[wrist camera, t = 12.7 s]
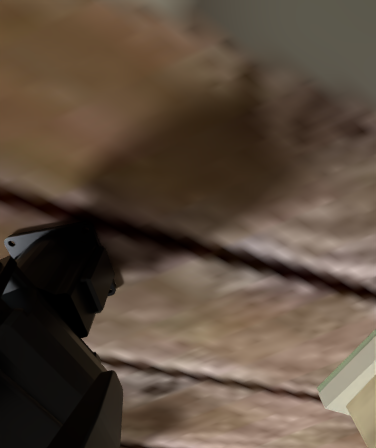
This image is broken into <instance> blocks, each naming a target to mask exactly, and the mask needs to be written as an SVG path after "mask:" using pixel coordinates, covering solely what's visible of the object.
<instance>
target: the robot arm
mask: <svg viewBox="0 0 376 448" xmlns="http://www.w3.org/2000/svg"><path fill="white" fill-rule="evenodd" d="M84 227H87V228H89V231H86V230H85V229H84ZM11 241H14V242H15V244H13V243H12V242H11ZM4 243H5V246H6V248H7V250H8V251H9V253H10V256H7V257H5V258H3V259H1V260H0V448H120V439H121V422H122V405H123V389H122V385H121V383H120V381H119V379H118V376H117V374H116V372H115V371H113V370H111V371H107V370H106V369H105V367H104V366H103V365H102V364H101V359H100V357H99V356H98V355H97V354H96V352H92V350H91V349H90V348H89V347H88V346H87V345H86V344H85V343H84V341H83V340H82V339H81V338H84V337H87V336H88V334H89V331H90V328H91V325H92V323H93V320H94V317H95V314H96V313H101V311H102V310H103V308H104V305H105V302H106V299H107V296H111V295H113V294H115V291H116V285H115V282H114V279H113V278H114V275H115V274H114V271H113V268H112V265H111V263H110V260H109V257H108V254H107V252H106V249H105V248H104V247H103V246H101V244H100V241H99V239H98V236H97V233H96V231H95V228H94V226H93V224H92V223H91V222H88V221H84V222H78V223H73V224H68V225H62V226H57V227H52V228H46V229H41V230H36V231H30V232H25V233H19V234H14V235H10V236H8V237H7V238H6V239H5V241H4ZM110 288H111V289H112V290H110Z"/></svg>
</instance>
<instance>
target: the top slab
mask: <svg viewBox="0 0 376 448" xmlns="http://www.w3.org/2000/svg"><path fill="white" fill-rule="evenodd" d="M375 375H376V336H375V337H374V338H373V339H372V340H371V341H370V342H369V343H368V344H367V345H366V346H365V347H364V348H363V349H362V350H361V351H360V352H359V353H358V354H357V355H356V356H355V357H354V358H353V359H352V360H351V361H350V362H349V363H348V364H347V365H346V366H345V367H344V368H343V369H342V370H341V371H340V372H339V373H338V374H337V375H336V376H335V377H334V378H333V379H332V380H331V381H330V382H329V383H328V384H327V385H326V386H325V387H324V389H323V390H322V391H321V392H320V393H319V396H320V398H321V401H322V403H323V405H324V407H325V409H329V410H332V411H336V412H340V413H343V414H347V415H350V413H349V411H348V409H347V408H346V406H347V405H348V404H349V403H350V402H351V400H352V399H353V398H354V397H355V396H356V395H357V394H358V393H359V392H360V391H361V390H362V389H363V388H364V387H365V385H366V384H367V383H368V382H369V381H370V380H371V379H372V378H373V377H374V376H375Z"/></svg>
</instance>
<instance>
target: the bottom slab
mask: <svg viewBox="0 0 376 448" xmlns="http://www.w3.org/2000/svg"><path fill="white" fill-rule="evenodd" d="M375 336H376V329H375V330H374V331H373V332H372V333H371V334H370V335H369V336H368V337H367V338H366V339H365V340H364V341H363V342H362V343H361V344H360V345H359V346H358V347H357V348H356V349H355V350H354V351H353V352H352V353H351V354H350V355H349V356H348V357H347V358H346V359H345V360H344V361H343V362H342V363H341V364H340V365H339V366H338V367H337V368H336V369H335V370H334V371H333V372H332V373H331V374H330V375H329V376H328V377H327V378H326V379H325V380H324V381H323V382H322V383H321V384H320V385H319V386H318V387H317V389H318V391H319V392H321V391H322V390H323V389H324V387H325V386H326V385H327V384H328V383H329V382H330V381H331V380H332V379H333V378H334V377H335V376H336V375H337V374H338V373H339V372H340V371H341V370H342V369H343V368H344V367H345V366H346V365H347V364H348V363H349V362H350V361H351V360H352V359H353V358H354V357H355V356H356V355H357V354H358V353H359V352H360V351H361V350H362V349H363V348H364V347H365V346H366V345H367V344H368V343H369V342H370V341H371V340H372V339H373V338H374V337H375Z"/></svg>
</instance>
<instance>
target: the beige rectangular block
mask: <svg viewBox="0 0 376 448" xmlns="http://www.w3.org/2000/svg"><path fill="white" fill-rule="evenodd" d="M346 408H347V409H348V411H349V413H350V415H351V417H352V419H353V421H354V423H355V424H356V426H357V428H358V430H359V432H360V434H361V436H362V438H363V440H364V441H365V443H366V445H367V447H368V448H376V375H375V376H374V377H373V378H372V379H371V380H370V381H369V382H368V383H367V384H366V385H365V387H364V388H363V389H362V390H361V391H360V392H359V393H358V394H357V395H356V396H355V397H354V398H353V399H352V400H351V402H350V403H349V404H348V405H347V406H346Z"/></svg>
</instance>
